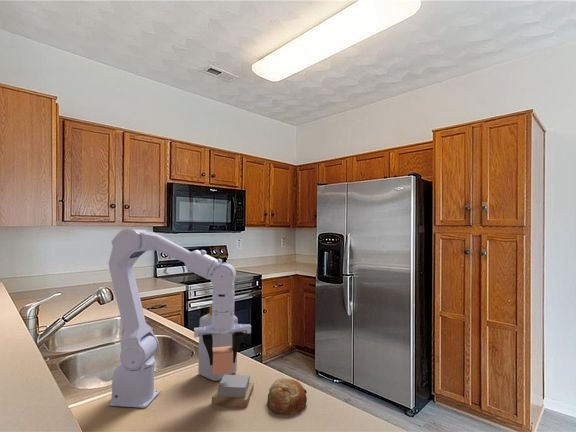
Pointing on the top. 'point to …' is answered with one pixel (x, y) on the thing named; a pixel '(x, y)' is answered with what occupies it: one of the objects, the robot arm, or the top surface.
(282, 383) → the bread roll
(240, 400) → the walnut slab
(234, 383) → the grey slab
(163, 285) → the top surface
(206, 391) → the top surface
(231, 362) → the terracotta cube
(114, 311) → the top surface
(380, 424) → the top surface
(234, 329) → the robot arm
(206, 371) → the soap bottle
